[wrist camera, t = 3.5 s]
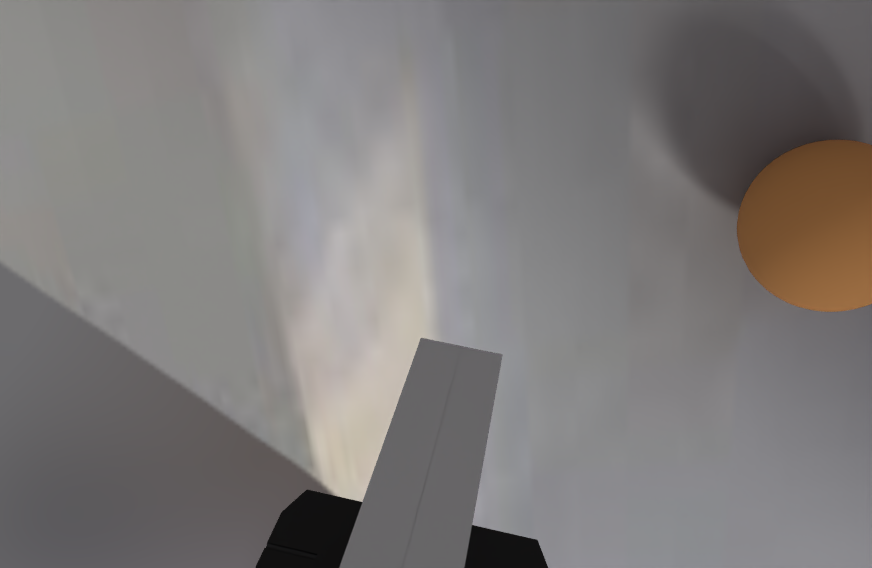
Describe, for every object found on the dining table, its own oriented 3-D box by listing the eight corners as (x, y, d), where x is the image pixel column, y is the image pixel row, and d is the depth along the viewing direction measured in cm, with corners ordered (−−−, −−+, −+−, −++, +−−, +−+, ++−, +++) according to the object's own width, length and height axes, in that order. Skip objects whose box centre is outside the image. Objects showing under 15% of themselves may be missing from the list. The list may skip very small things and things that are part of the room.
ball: (924, 133, 25) (1001, 197, 20) (857, 275, 27) (910, 361, 23) (755, 104, 25) (791, 160, 20) (706, 247, 28) (728, 324, 23)
